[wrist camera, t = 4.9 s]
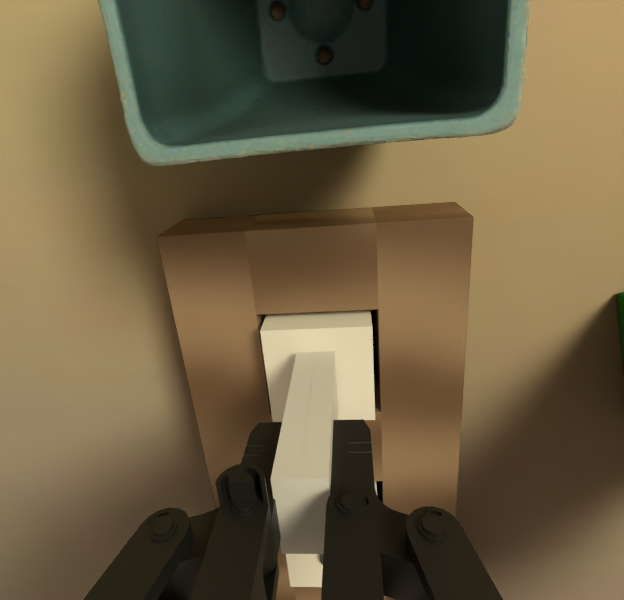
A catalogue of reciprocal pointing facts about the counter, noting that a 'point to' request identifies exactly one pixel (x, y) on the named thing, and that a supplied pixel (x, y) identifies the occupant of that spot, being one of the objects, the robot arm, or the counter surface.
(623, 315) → the milk carton
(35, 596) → the counter surface
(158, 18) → the flower pot
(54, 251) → the counter surface
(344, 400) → the button one
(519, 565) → the counter surface
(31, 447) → the counter surface
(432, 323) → the button panel
